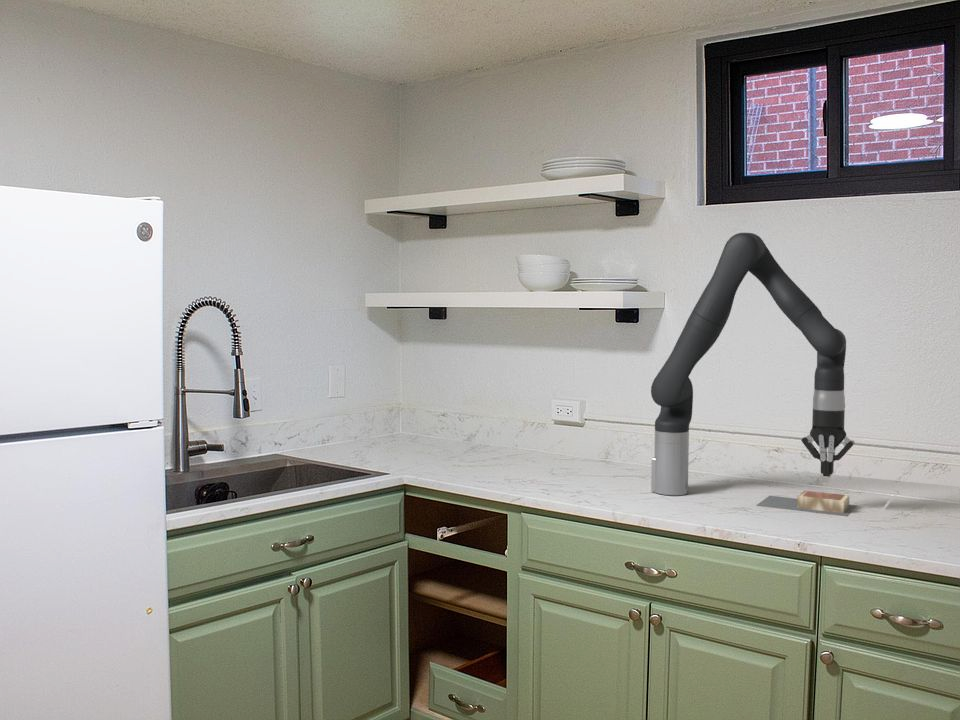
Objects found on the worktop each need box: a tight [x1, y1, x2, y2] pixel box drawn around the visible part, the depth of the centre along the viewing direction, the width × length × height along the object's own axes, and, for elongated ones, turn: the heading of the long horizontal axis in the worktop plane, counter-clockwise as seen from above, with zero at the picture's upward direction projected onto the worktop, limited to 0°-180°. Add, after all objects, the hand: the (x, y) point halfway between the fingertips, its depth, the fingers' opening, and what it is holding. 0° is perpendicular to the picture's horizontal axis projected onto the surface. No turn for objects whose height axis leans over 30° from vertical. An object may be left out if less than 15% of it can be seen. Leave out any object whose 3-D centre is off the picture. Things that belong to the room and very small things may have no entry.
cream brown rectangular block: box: [797, 490, 850, 513], centre depth 230 cm, size 3×8×11 cm
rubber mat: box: [755, 495, 858, 518], centre depth 232 cm, size 22×14×1 cm, turn 59°
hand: (827, 475), depth 229 cm, fingers closed
